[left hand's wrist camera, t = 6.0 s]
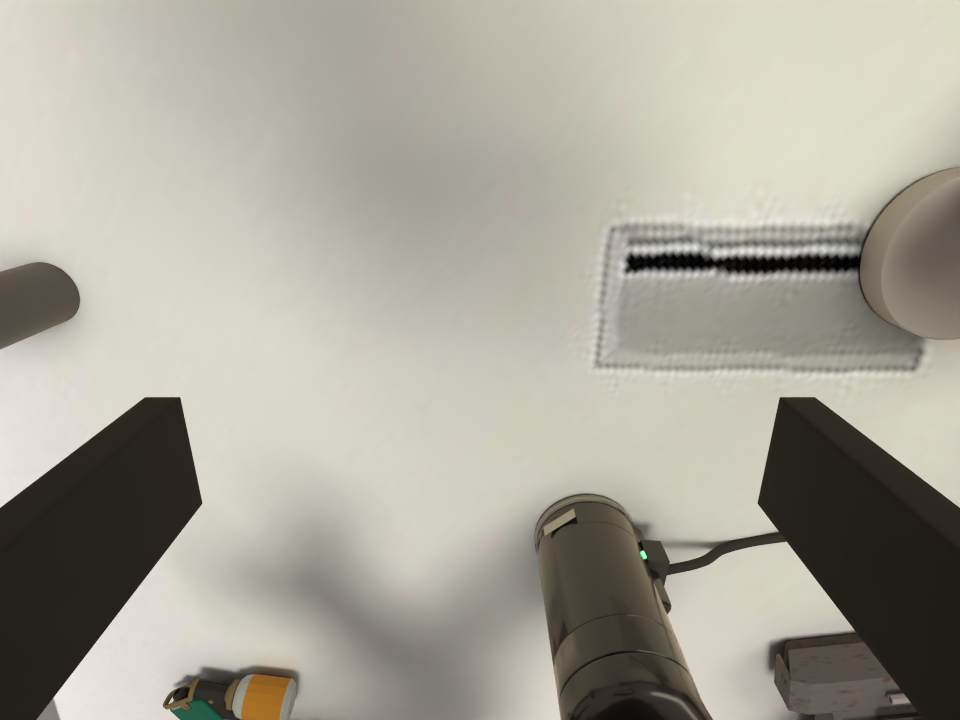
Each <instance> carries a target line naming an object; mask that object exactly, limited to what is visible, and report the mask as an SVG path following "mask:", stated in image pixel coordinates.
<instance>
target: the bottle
mask: <svg viewBox="0 0 960 720" xmlns="http://www.w3.org/2000/svg"><path fill="white" fill-rule="evenodd" d="M78 307H79V293H78V290H77V288H76V286H75V284H74V282H73V281H72V279H71V278H70V277H69V276H68V275H67V274H66V273H65V272H64V271H62V270H61V269H59V268H57V267H55V266H53V265H50V264H47V263H39V262H37V263H31V264H27V265H24V266H20V267H16V268H12V269H9V270H5V271H1V272H0V349H2V348H5V347H7V346H9V345H12V344H14V343H16V342H18V341H21V340H23V339H25V338H28V337H30V336H32V335H35V334H37V333H39V332H42V331H44V330H46V329H49V328H51V327H53V326H55V325H58V324H60V323H62V322H65V321H67V320H69V319H70V318H72V317H73V316H74V315H75V313H76V312H77V310H78Z"/></svg>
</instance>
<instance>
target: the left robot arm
mask: <svg viewBox="0 0 960 720" xmlns="http://www.w3.org/2000/svg"><path fill="white" fill-rule="evenodd" d="M201 505H202V499H201V495H200V490H199V485H198V480H197V475H196V471H195V466H194V461H193V456H192V452H191V447H190V442H189V437H188V432H187V428H186V423H185V418H184V413H183V409H182V404H181V399H180V397H145V398H144V399H142V400H141V401H140V402H138V403H137V404H136V405H135V406H133V407H132V408H131V409H129V410H128V411H127V412H125V413H124V414H123V415H121V416H120V417H119V418H117V419H116V420H115V421H114V422H112V423H111V424H110V425H108V426H107V427H106V428H104V429H103V430H102V431H100V432H99V433H98V434H97V435H95V436H94V437H93V438H91V439H90V440H89V441H87V442H86V443H85V444H83V445H82V446H81V447H79V448H78V449H77V450H76V451H74V452H73V453H72V454H70V455H69V456H68V457H66V458H65V459H64V460H62V461H61V462H60V463H59V464H57V465H56V466H55V467H53V468H52V469H51V470H49V471H48V472H47V473H45V474H44V475H43V476H41V477H40V478H39V479H38V480H36V481H35V482H34V483H32V484H31V485H30V486H28V487H27V488H26V489H24V490H23V491H22V492H21V493H19V494H18V495H17V496H15V497H14V498H13V499H11V500H10V501H9V502H7V503H6V504H5V505H3V506H2V507H1V508H0V720H36V719H37V718H38V717H39V715H40V714H41V713H42V712H43V710H44V709H45V708H46V706H47V705H48V704H49V703H50V701H51V700H52V699H53V697H54V696H55V695H56V693H57V692H58V691H59V690H60V688H61V687H62V686H63V684H64V683H65V682H66V680H67V679H68V678H69V676H70V675H71V674H72V673H73V671H74V670H75V669H76V667H77V666H78V665H79V663H80V662H81V661H82V660H83V658H84V657H85V656H86V654H87V653H88V652H89V650H90V649H91V648H92V647H93V645H94V644H95V643H96V641H97V640H98V639H99V637H100V636H101V635H102V634H103V632H104V631H105V630H106V628H107V627H108V626H109V624H110V623H111V622H112V620H113V619H114V618H115V617H116V615H117V614H118V613H119V611H120V610H121V609H122V607H123V606H124V605H125V604H126V602H127V601H128V600H129V598H130V597H131V596H132V594H133V593H134V592H135V591H136V589H137V588H138V587H139V585H140V584H141V583H142V581H143V580H144V579H145V578H146V576H147V575H148V574H149V572H150V571H151V570H152V568H153V567H154V566H155V564H156V563H157V562H158V561H159V559H160V558H161V557H162V555H163V554H164V553H165V551H166V550H167V549H168V548H169V546H170V545H171V544H172V542H173V541H174V540H175V538H176V537H177V536H178V535H179V533H180V532H181V531H182V529H183V528H184V527H185V525H186V524H187V523H188V522H189V520H190V519H191V518H192V516H193V515H194V514H195V512H196V511H197V510H198V508H199V507H200V506H201ZM758 505H759V506H760V507H761V508H762V510H763V511H764V512H765V514H766V515H767V516H768V518H769V519H770V520H771V522H772V523H773V524H774V525H775V527H776V528H777V529H778V531H779V532H780V533H781V535H782V536H783V537H784V538H785V540H786V541H787V542H788V544H789V545H790V546H791V548H792V549H793V550H794V551H795V553H796V554H797V555H798V557H799V558H800V559H801V561H802V562H803V563H804V564H805V566H806V567H807V568H808V570H809V571H810V572H811V574H812V575H813V576H814V578H815V579H816V580H817V581H818V583H819V584H820V585H821V587H822V588H823V589H824V591H825V592H826V593H827V594H828V596H829V597H830V598H831V600H832V601H833V602H834V604H835V605H836V606H837V607H838V609H839V610H840V611H841V613H842V614H843V615H844V617H845V618H846V619H847V620H848V622H849V623H850V624H851V626H852V627H853V628H854V630H855V631H856V632H857V634H858V635H859V636H860V637H861V639H862V640H863V641H864V643H865V644H866V645H867V647H868V648H869V649H870V650H871V652H872V653H873V654H874V656H875V657H876V658H877V660H878V661H879V662H880V663H881V665H882V666H883V667H884V669H885V670H886V671H887V673H888V674H889V675H890V676H891V678H892V679H893V680H894V682H895V683H896V684H897V686H898V687H899V688H900V690H901V691H902V692H903V693H904V695H905V696H906V697H907V699H908V700H909V701H910V703H911V704H912V705H913V706H914V708H915V709H916V710H917V712H918V713H919V714H920V716H921V717H922V718H923V719H924V720H960V508H959V507H958V506H957V505H955V504H954V503H953V502H951V501H950V500H949V499H947V498H946V497H945V496H943V495H942V494H941V493H939V492H938V491H937V490H936V489H934V488H933V487H932V486H930V485H929V484H928V483H926V482H925V481H924V480H922V479H921V478H920V477H919V476H917V475H916V474H915V473H913V472H912V471H911V470H909V469H908V468H907V467H905V466H904V465H903V464H901V463H900V462H899V461H898V460H896V459H895V458H894V457H892V456H891V455H890V454H888V453H887V452H886V451H884V450H883V449H882V448H881V447H879V446H878V445H877V444H875V443H874V442H873V441H871V440H870V439H869V438H867V437H866V436H865V435H863V434H862V433H861V432H860V431H858V430H857V429H856V428H854V427H853V426H852V425H850V424H849V423H848V422H846V421H845V420H844V419H843V418H841V417H840V416H839V415H837V414H836V413H835V412H833V411H832V410H831V409H829V408H828V407H827V406H825V405H824V404H823V403H822V402H820V401H819V400H818V399H816V398H815V397H780V399H779V404H778V409H777V413H776V418H775V423H774V428H773V432H772V437H771V442H770V447H769V452H768V456H767V461H766V466H765V471H764V475H763V480H762V485H761V490H760V495H759V499H758Z"/></svg>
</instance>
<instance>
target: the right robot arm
mask: <svg viewBox="0 0 960 720" xmlns="http://www.w3.org/2000/svg"><path fill="white" fill-rule="evenodd" d="M779 542H787V541H786V540H785V538H784V537H783V536H782V535H781V533H777V534H769V535H762V536H756V537H750V538H745V539H741V540H736V541H732V542H729V543H725V544H722V545H719V546H717V547H715V548H714V549H712V550H711V551H710V552H708V553H707V554H705V555H704V556H702V557H699V558H696V559H693V560H689V561H685V562H680V563H675V564H670V561H669V559H668V557H667V555H666V552H665V550H664V548H663V546H662V544H661V541H651V540H644V537H643V535H642V532H641V531H640V530H639V529H637V528H635V527H634V526H633V524H632V521H631V519H630V517H629V515H628V514H627V512H626V511H625V510H624V509H623V508H622V507H621V506H620V505H619V504H617V503H616V502H614V501H612V500H610V499H608V498H605V497H601V496H596V495H579V496H573V497H570V498H567V499H564V500H562V501H560V502H558V503H556V504H555V505H553V506H552V507H551V508H549V509H548V510H547V511H546V512H545V513H544V515H543V516H542V517H541V519H540V520H539V522H538V524H537V527H536V531H535V546H536V552H537V555H538V561H539V568H540V576H541V583H542V590H543V597H544V604H545V611H546V618H547V625H548V632H549V639H550V646H551V653H552V660H553V667H554V674H555V681H556V688H557V695H558V702H559V711H560V718H561V720H713V719H712V717H711V716H710V714H709V712H708V711H707V709H706V707H705V706H704V704H703V702H702V700H701V698H700V695H699V693H698V690H697V688H696V685H695V683H694V681H693V678H692V676H691V673H690V671H689V668H688V666H687V663H686V661H685V658H684V656H683V653H682V650H681V648H680V645H679V643H678V641H677V638H676V636H675V633H674V631H673V628H672V626H671V623H670V621H669V618H668V616H667V614H668V613H669V612H670V610H671V603H670V600H669V598H668V595H667V593H666V590H665V588H664V584H665V580H666V576H667V575H670V574H675V573H680V572H685V571H690V570H694V569H698V568H701V567H704V566H706V565H709V564H711V563H712V562H714V561H715V560H716V559H717V558H719V557H720V556H721V555H723V554H726V553H729V552H732V551H735V550H739V549H743V548H747V547H752V546H758V545H764V544H771V543H779Z"/></svg>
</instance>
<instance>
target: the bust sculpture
mask: <svg viewBox="0 0 960 720" xmlns="http://www.w3.org/2000/svg"><path fill="white" fill-rule="evenodd" d="M860 279H861V286H862V289H863V293H864V295H865V298H866V300H867V302H868V303H869V305H870V306H871V308H872V309H873V310H874V311H875V312H876V313H877V314H878V315H879V316H880V317H881V318H883V319H884V320H885V321H887V322H889V323H891V324H893V325H895V326H898V327H900V328H902V329H904V330H907V331H909V332H911V333H913V334H916V335H918V336H921V337H924V338H929V339H936V340H953V339H960V167H958V168H952V169H948V170H944V171H941V172H938V173H935V174H932V175H930V176H928V177H926V178H924V179H922V180H920V181H918V182H916V183H915V184H913V185H912V186H910V187H909V188H907V189H906V190H905V191H903V192H902V193H901V194H900V195H899V196H897V197H896V198H895V199H894V200H893V201H892V202H891V203H890V204H889V205H888V206H887V208H886V209H885V210H884V211H883V212H882V214H881V215H880V216H879V218H878V219H877V221H876V222H875V224H874V226H873V227H872V229H871V231H870V233H869V235H868V237H867V240H866V242H865V245H864V248H863V252H862V257H861V263H860Z"/></svg>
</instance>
